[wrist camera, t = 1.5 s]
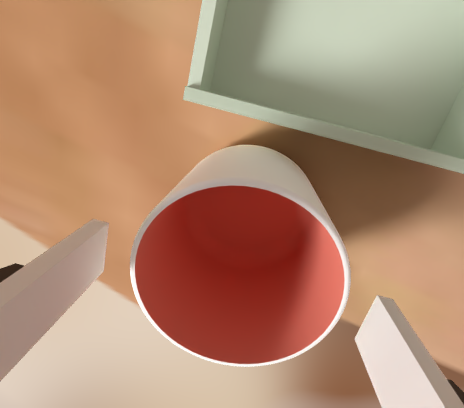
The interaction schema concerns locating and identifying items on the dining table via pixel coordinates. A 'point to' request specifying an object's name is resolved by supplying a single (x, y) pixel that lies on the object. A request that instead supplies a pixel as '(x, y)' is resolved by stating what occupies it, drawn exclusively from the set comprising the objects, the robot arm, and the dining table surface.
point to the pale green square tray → (340, 71)
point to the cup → (241, 261)
